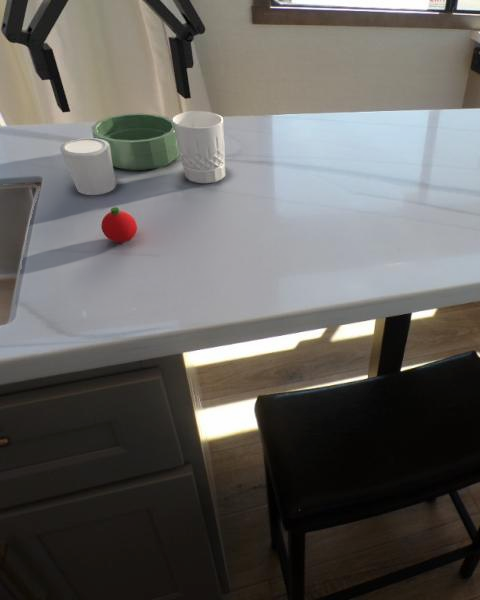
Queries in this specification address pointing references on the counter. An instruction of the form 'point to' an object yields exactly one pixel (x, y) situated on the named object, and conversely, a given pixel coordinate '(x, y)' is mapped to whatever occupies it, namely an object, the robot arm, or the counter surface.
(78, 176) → the white cylinder
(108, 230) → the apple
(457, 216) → the counter surface
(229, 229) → the counter surface
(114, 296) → the counter surface
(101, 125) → the bowl
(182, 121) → the white cup
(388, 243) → the counter surface
